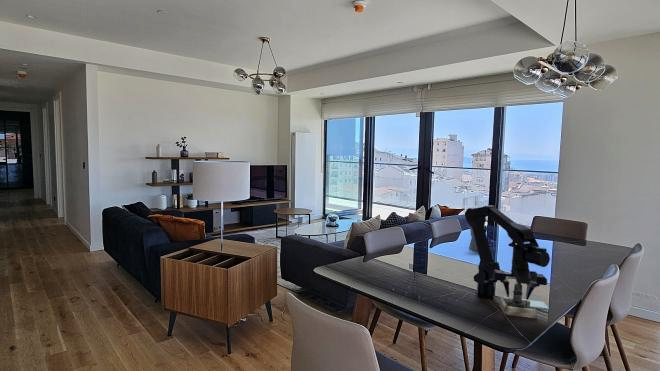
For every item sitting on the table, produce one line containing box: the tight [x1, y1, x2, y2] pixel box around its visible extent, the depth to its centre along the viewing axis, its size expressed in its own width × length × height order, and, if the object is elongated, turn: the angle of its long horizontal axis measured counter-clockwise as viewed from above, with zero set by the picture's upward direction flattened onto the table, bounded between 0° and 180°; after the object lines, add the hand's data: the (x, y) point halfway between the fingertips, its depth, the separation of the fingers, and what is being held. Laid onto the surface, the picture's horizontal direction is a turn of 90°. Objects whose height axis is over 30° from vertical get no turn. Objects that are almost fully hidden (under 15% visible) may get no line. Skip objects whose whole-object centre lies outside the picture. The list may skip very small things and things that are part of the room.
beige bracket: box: [497, 296, 538, 319], centre depth 148 cm, size 11×11×3 cm
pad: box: [528, 299, 550, 310], centre depth 154 cm, size 7×7×1 cm
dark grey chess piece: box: [509, 282, 526, 308], centre depth 148 cm, size 6×6×12 cm
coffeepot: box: [468, 225, 488, 252], centre depth 247 cm, size 15×9×18 cm, turn 118°
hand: (517, 298), depth 148 cm, fingers open, 7 cm apart
